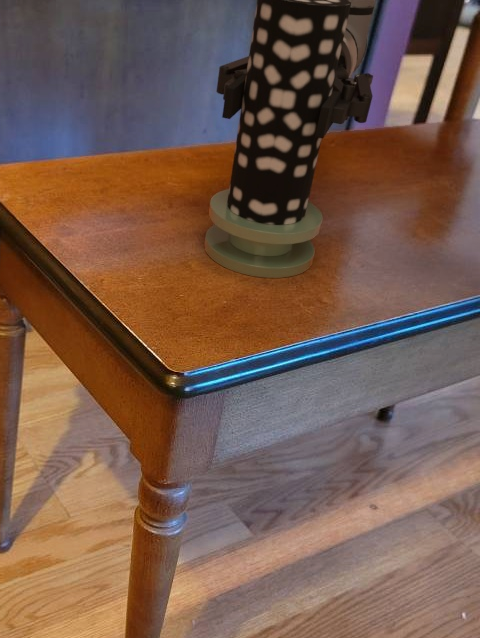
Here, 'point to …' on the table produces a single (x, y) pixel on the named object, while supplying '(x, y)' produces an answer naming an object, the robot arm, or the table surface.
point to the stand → (260, 242)
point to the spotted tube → (284, 106)
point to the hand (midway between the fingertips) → (274, 113)
